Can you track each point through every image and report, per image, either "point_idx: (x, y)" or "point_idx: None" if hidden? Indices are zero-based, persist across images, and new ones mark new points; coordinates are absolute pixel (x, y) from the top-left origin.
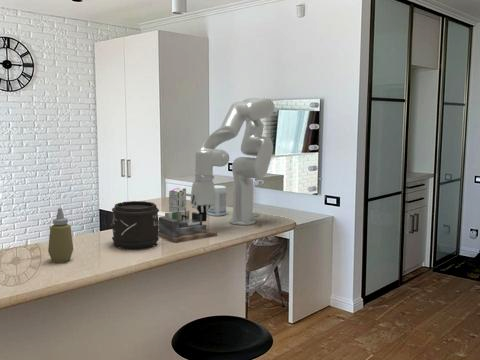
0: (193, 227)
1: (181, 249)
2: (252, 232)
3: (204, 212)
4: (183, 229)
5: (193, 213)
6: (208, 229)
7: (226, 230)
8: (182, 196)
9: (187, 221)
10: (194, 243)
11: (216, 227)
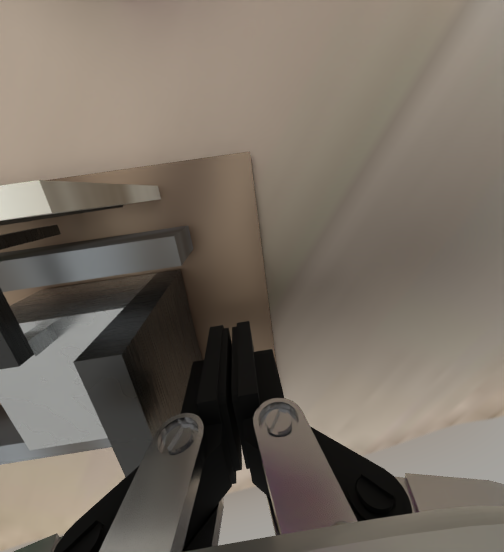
0: (94, 446)
1: (10, 523)
2: (492, 398)
3: (235, 481)
4: (4, 456)
5: (95, 389)
6: (271, 334)
7: (410, 308)
8: None
9: (41, 387)
10: (98, 471)
11: (415, 198)
